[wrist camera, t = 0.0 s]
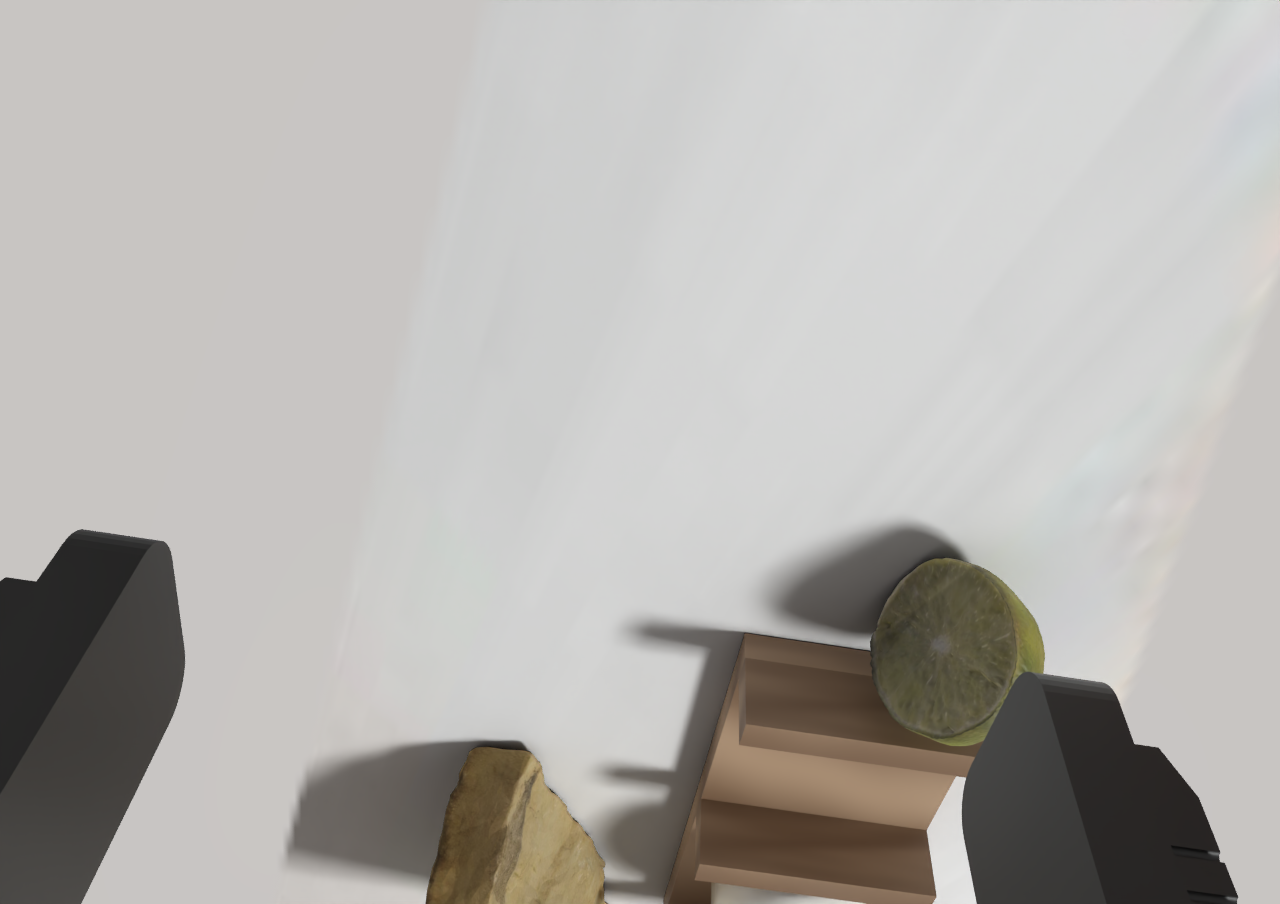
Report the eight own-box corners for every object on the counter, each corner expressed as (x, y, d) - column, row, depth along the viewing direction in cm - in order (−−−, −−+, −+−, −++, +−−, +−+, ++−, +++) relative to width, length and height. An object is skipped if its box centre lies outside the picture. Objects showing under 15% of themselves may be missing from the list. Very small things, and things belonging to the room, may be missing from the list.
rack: (744, 633, 36) (746, 724, 33) (994, 669, 36) (1015, 763, 33) (663, 898, 46) (659, 985, 43) (859, 925, 46) (867, 1013, 43)
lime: (859, 640, 36) (875, 776, 32) (884, 527, 33) (905, 661, 29) (1003, 650, 35) (1037, 787, 32) (1041, 536, 32) (1084, 673, 29)
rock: (383, 756, 37) (316, 936, 42) (513, 986, 32) (420, 1160, 37) (635, 688, 44) (552, 849, 49) (772, 868, 39) (665, 1027, 44)
